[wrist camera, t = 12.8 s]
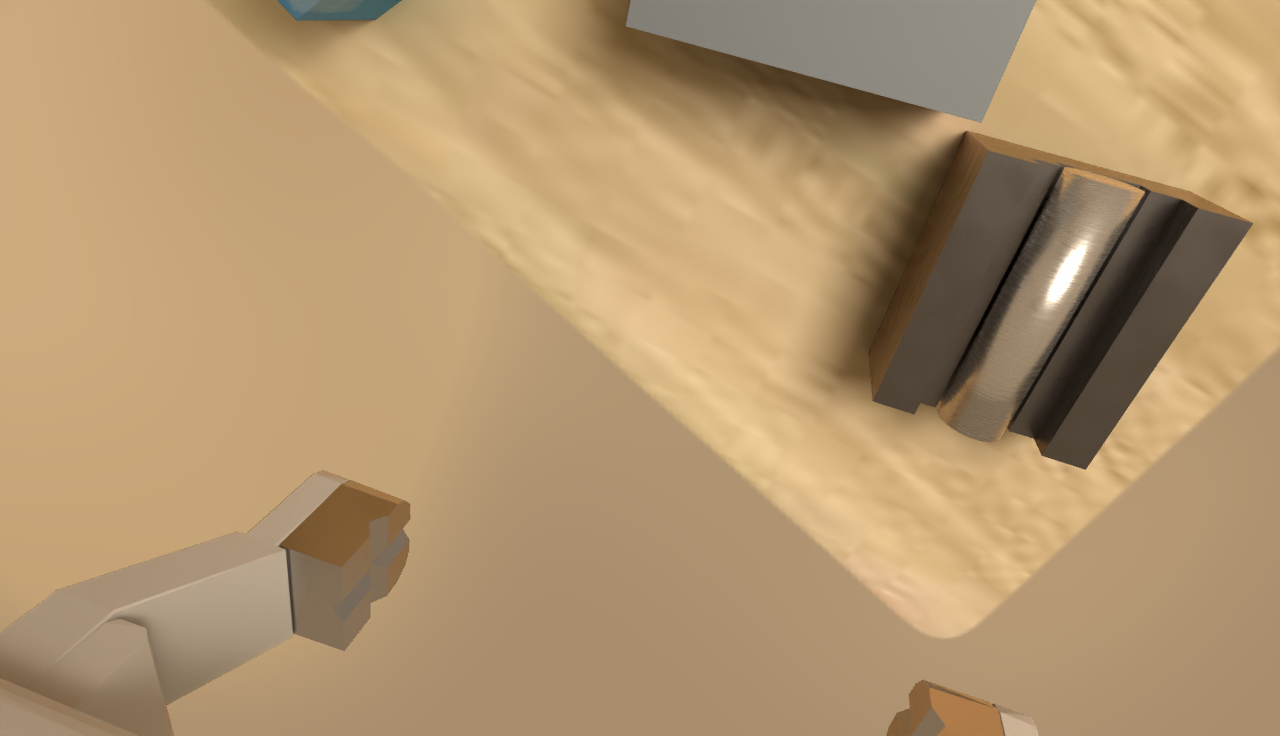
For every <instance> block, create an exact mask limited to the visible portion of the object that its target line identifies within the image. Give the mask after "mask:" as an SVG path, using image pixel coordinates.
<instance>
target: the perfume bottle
mask: <svg viewBox="0 0 1280 736" xmlns="http://www.w3.org/2000/svg"><path fill="white" fill-rule="evenodd" d="M277 1H278V2H279V3H280V4H281V5H282V6H283V7H284V8H285V9H286V10H287V11H288V12H289V13H290V14H291V15H292V16H293V17H294V18H295V19H296V20H376V19H377V18H378V17H380V16H381V15H382V14H384V13H385V12H386V11H388V10H389V9H390V8H392V7H393V6H394V5H396V4H397V3H398V2H400V1H401V0H277Z"/></svg>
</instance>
